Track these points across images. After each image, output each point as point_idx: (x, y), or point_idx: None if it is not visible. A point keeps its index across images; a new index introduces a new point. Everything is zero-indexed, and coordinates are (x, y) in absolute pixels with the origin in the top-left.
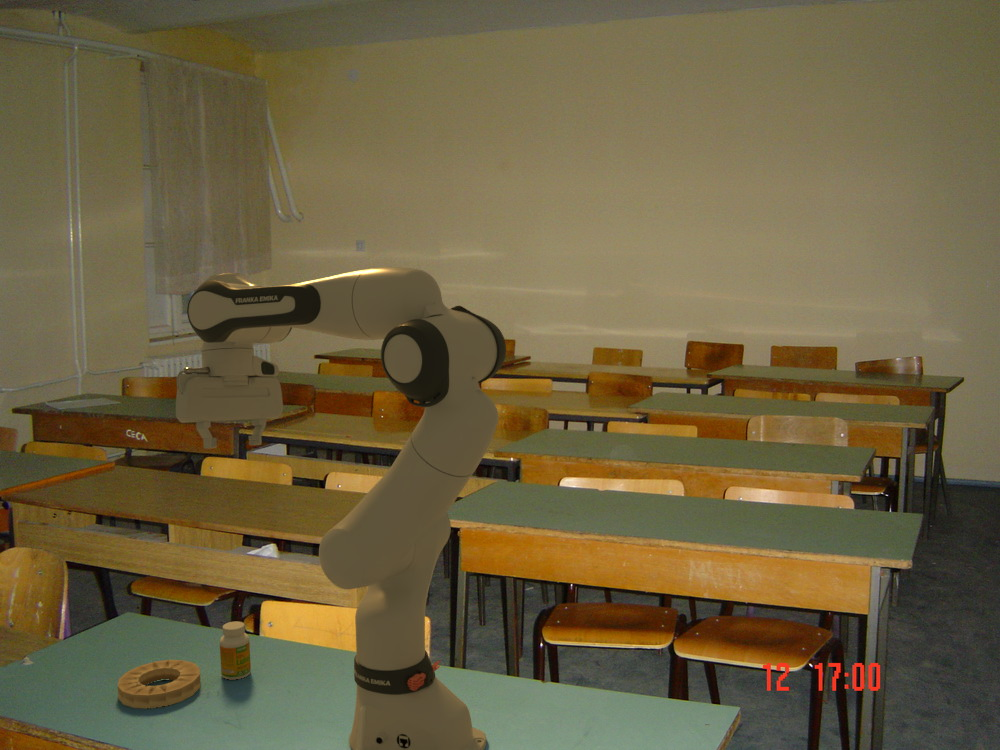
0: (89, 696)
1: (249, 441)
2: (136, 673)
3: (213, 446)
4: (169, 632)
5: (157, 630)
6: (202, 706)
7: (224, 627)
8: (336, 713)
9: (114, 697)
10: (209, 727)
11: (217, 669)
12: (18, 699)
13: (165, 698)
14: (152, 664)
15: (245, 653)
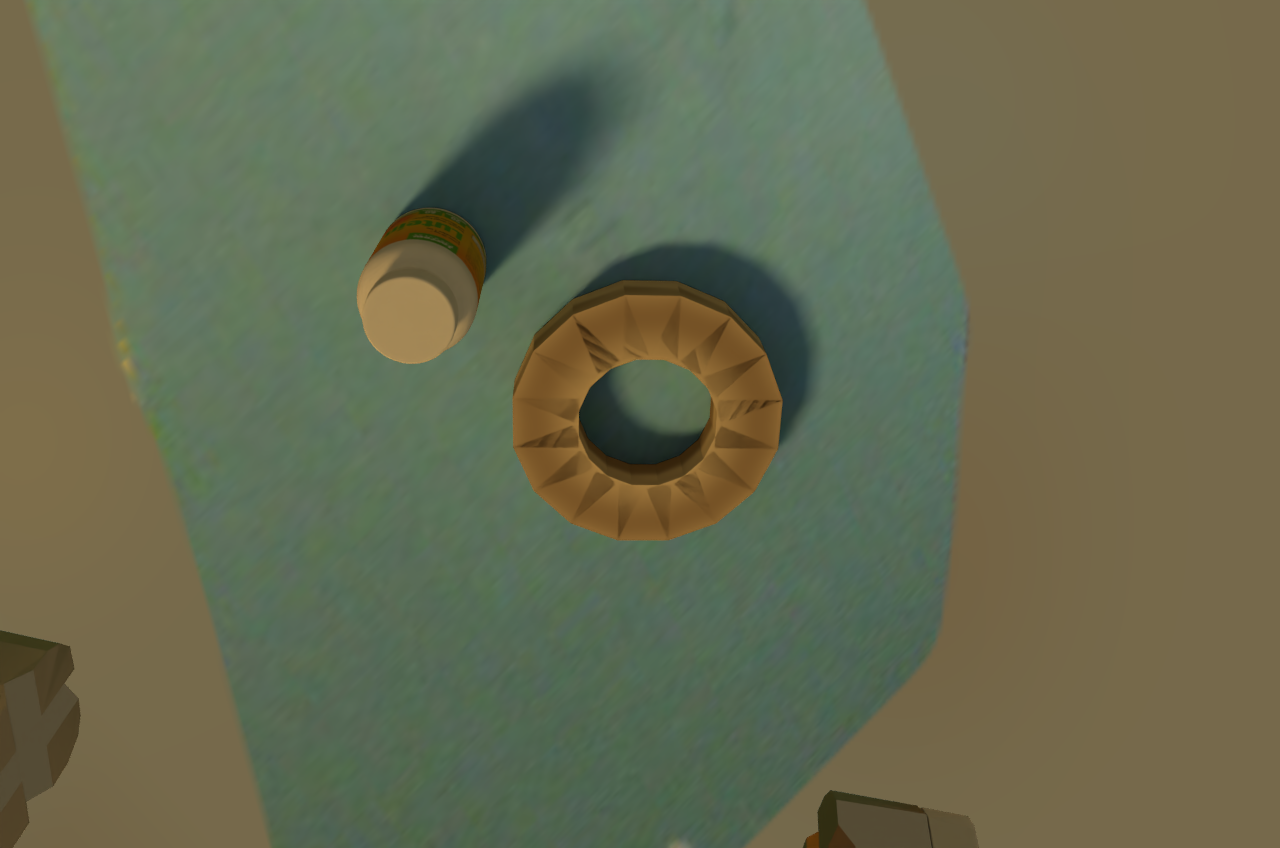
0: (768, 556)
1: (39, 786)
2: (661, 506)
3: (899, 810)
4: (310, 689)
5: (321, 730)
6: (675, 191)
7: (446, 338)
8: None
9: None
10: (781, 57)
11: None
12: (857, 701)
13: (729, 311)
14: (587, 512)
15: (420, 230)
